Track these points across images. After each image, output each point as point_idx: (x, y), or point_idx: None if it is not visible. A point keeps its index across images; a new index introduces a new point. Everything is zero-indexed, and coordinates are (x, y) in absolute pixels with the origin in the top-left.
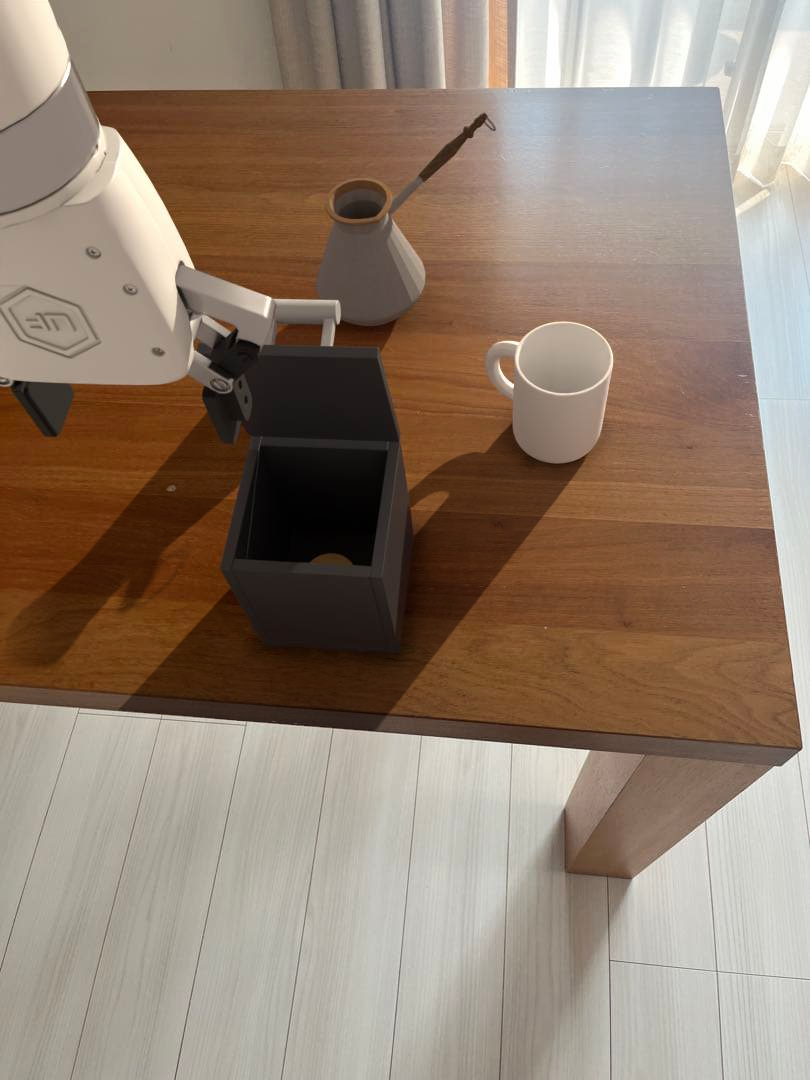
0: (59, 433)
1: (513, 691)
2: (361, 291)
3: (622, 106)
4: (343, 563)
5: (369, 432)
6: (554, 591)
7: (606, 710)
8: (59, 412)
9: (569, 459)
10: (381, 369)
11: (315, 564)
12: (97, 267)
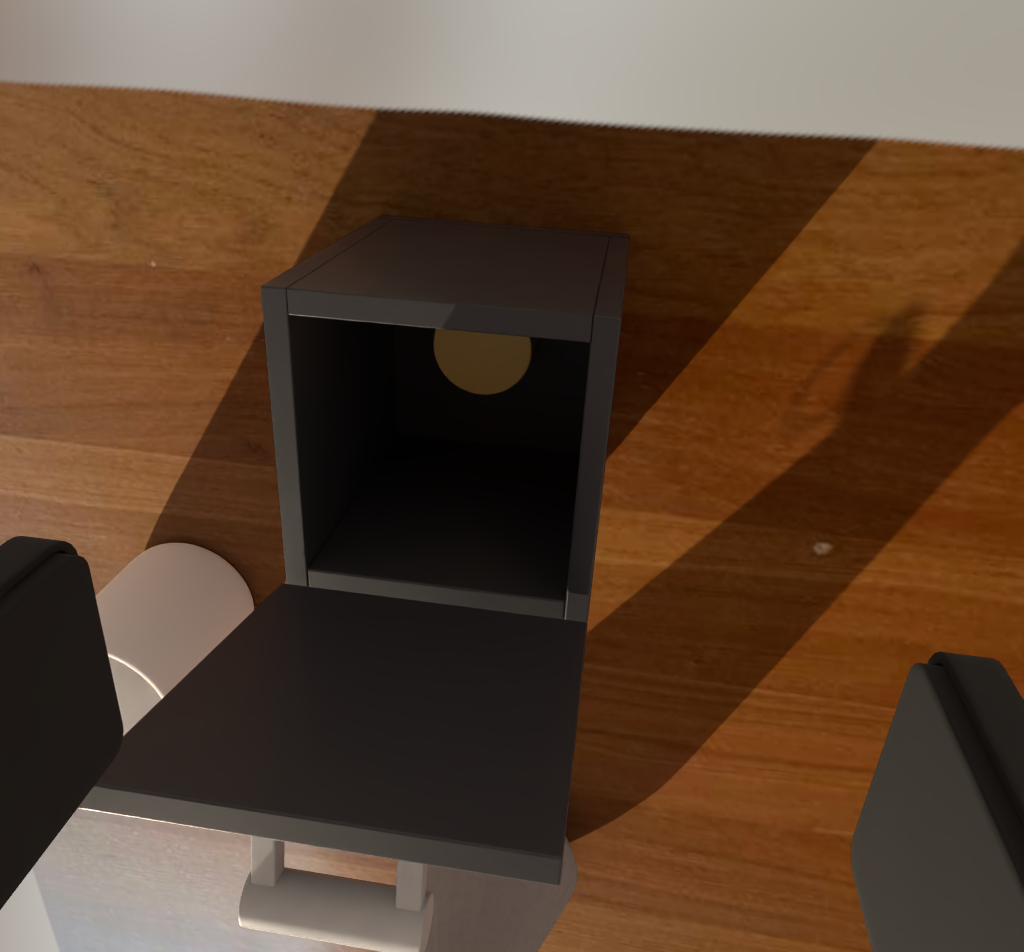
0: (913, 668)
1: (183, 144)
2: None
3: None
4: (457, 373)
5: (319, 606)
6: (150, 328)
7: (33, 111)
8: (907, 782)
9: (158, 546)
10: None
11: (406, 322)
12: None
